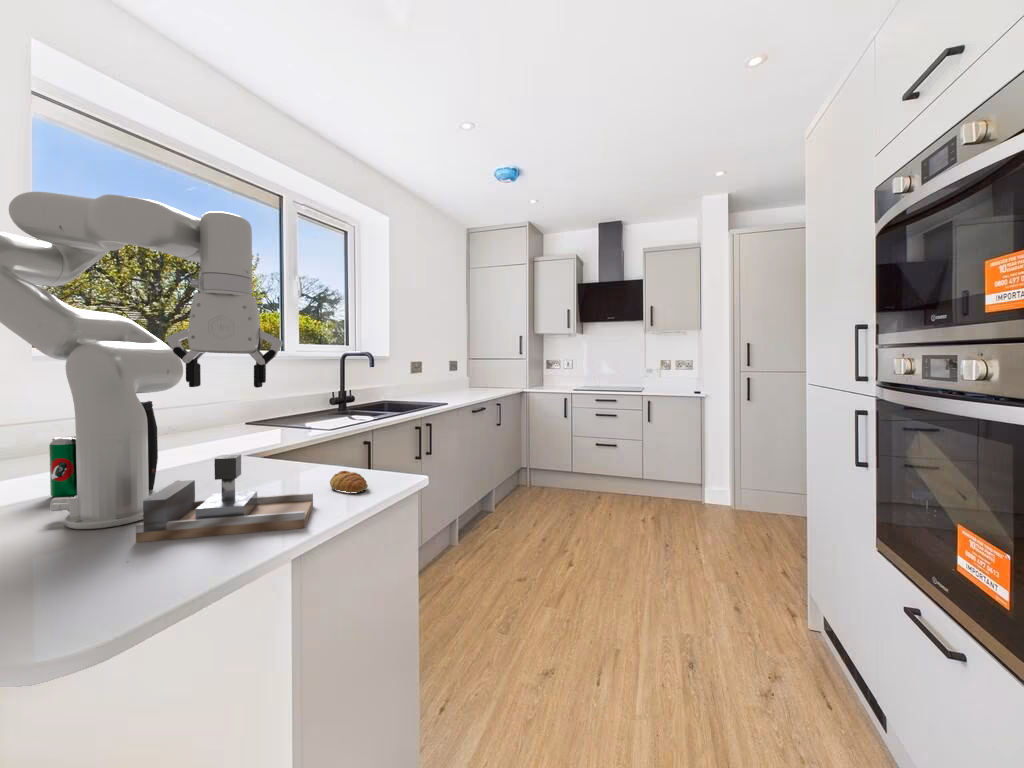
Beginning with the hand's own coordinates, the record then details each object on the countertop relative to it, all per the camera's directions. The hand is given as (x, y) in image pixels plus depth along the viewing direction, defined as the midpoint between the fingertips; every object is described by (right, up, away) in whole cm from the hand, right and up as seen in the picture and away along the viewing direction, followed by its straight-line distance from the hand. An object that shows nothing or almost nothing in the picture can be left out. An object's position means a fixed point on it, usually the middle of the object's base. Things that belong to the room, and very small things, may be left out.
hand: (227, 386), depth 77 cm
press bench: (+1, -24, +1) cm, 24 cm away
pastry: (+13, -24, +24) cm, 36 cm away
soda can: (-43, -23, +15) cm, 51 cm away
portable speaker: (-32, -23, +17) cm, 43 cm away
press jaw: (0, -22, +1) cm, 22 cm away
